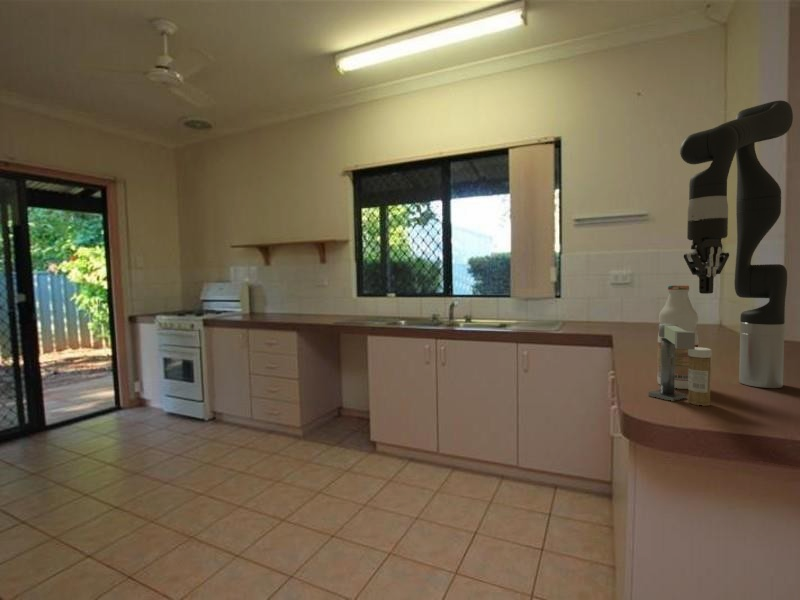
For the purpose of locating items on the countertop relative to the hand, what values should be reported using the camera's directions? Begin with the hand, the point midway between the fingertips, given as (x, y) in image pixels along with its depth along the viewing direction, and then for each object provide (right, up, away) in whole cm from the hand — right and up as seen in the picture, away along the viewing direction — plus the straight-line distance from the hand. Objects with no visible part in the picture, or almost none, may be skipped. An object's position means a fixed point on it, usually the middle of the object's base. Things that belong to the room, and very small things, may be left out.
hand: (706, 293), depth 98 cm
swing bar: (-7, -11, +1) cm, 13 cm away
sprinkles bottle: (+1, -27, +3) cm, 27 cm away
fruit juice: (+6, -26, +20) cm, 33 cm away
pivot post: (-3, -26, +9) cm, 28 cm away
